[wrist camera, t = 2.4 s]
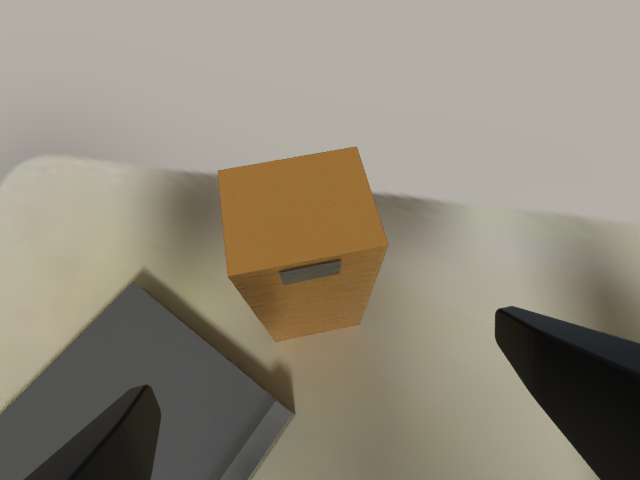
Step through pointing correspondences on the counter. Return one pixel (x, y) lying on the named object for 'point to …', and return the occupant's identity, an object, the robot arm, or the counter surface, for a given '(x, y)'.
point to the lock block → (302, 240)
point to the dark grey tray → (170, 391)
